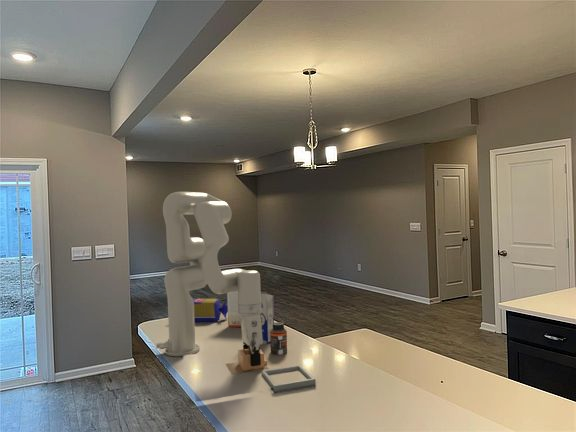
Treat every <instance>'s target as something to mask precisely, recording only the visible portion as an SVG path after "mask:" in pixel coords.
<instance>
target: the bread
mask: <svg viewBox="0 0 576 432" xmlns="http://www.w3.org/2000/svg"><path fill="white" fill-rule="evenodd" d="M192 299H193V302H194V320H195V323H212V322H214V323H216V322H217V321H218V320H219V319H220V318H221V315H222V316H223V317H224V319H225V320H226V321H228V317H227V315H228V304H226V303H227V299H225V300H224V302H223V304H222V306H221V305H220V299H219V298H192Z"/></svg>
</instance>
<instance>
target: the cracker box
mask: <svg viewBox="0 0 576 432" xmlns="http://www.w3.org/2000/svg"><path fill="white" fill-rule="evenodd" d="M226 295H227V297H226V298H227V300H226V302H227V307H228V312H227V325H228V327H229V326H230V328H231V327H232V328H241V315H239V313H238V291H234V292H229V293H226Z"/></svg>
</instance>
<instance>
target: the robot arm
mask: <svg viewBox="0 0 576 432" xmlns="http://www.w3.org/2000/svg"><path fill="white" fill-rule="evenodd" d="M162 205H163V206H162V214H163V218H164V223H165V231H166V252H167V259H168V260H169V262H171V263H173V264H185V263H186V264H187V263H189V265H185V266H177V267H173V268H171V269H169V270H168V271H167V272H166V273H165V275H164V278H163V279H164V287H165V291H166V292H165V293H166V297H167V309H168V310H167V313H168V315H167V316H168V318H167V319H168V338H167V340H165V341H164V342H156V343H155V345H156V347H155V348H156V349H160V350H164V354H165V355H167V356H170V357H183V356H187V355H188V356H190V355H193V354H195V353H197V352H198V353H199V351H200V345H199V344H197V343H196V331H195V330H196V327H195V325H196V322H195V320H194V302H193V299H194V298H193V297H192V296H191V294H190V292H191V291H196V290H202V289H203V288H206V286H207V285H208V286H207V287H208V288H209V289H210V291H211V292H212V293H214V294H215V295H224V294H227V293H229V292H234V291H238V313H239V315H241V327H240V328H241V338H242V343H243V344H242V345H243V346H242V349H248V347H250V349H251V353H250V362H251V366H259V365H261V356H260V350H261V347H260V346H263V345H262V343H263V339H262V327H261V318H260V313H261V292H262V290H261V274H260V272H259V271H257V270H254V269H250V270H249V269H247V270H246V269H242V268H231V269H225V270H224V269H223V270H222V269H221V266H220V265H219V260H218V255H219V254H218V253H219V251H220V249H221V248H222V247H224V246H225V245H228V243H229V240H230V237H229V234H228V233H227V229H226V227H225V224H226V225H227V224H228V223H229V222H230V221H231V219H232V209H231V207H230V205H229V204H228V202H226V201H223V200H222V199H220V198H217V197H216V196H213V195H211V194H210V193H209V194H208V193H205V192H200V191H175V192H172V193H170V194H168V195H167V196H166V197H165V199H164V202H163V204H162ZM184 215H185V216H186V215H191V216H194V219H195V221H196V223H197V227H198V230H199V231H200V235H201V237H202V238H201V237H199V236H198V237H197V236H191V233H190V225H189V223H188V220H187V219H186V218H185V217H184Z"/></svg>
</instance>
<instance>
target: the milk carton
mask: <svg viewBox="0 0 576 432" xmlns="http://www.w3.org/2000/svg"><path fill="white" fill-rule="evenodd" d="M274 308H275V307H274V295H272V294H268V292H267V291H261V313H260V318H261V327H262V339H263V343H262V345H261V346H263V345H270V331H271V330H272V329H273V323H275V317H274V316H275V313H274V312H275V311H274V310H275V309H274Z"/></svg>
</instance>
